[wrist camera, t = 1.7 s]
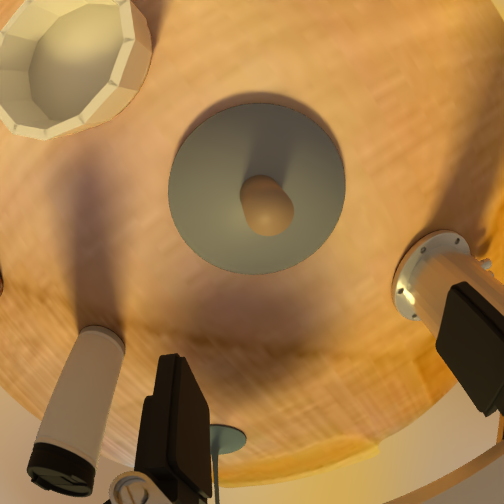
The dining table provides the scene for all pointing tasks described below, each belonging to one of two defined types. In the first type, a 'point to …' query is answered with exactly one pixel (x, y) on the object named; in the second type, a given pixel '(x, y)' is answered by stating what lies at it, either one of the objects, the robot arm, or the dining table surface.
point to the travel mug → (78, 415)
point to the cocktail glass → (223, 447)
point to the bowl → (70, 65)
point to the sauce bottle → (1, 287)
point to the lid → (256, 188)
